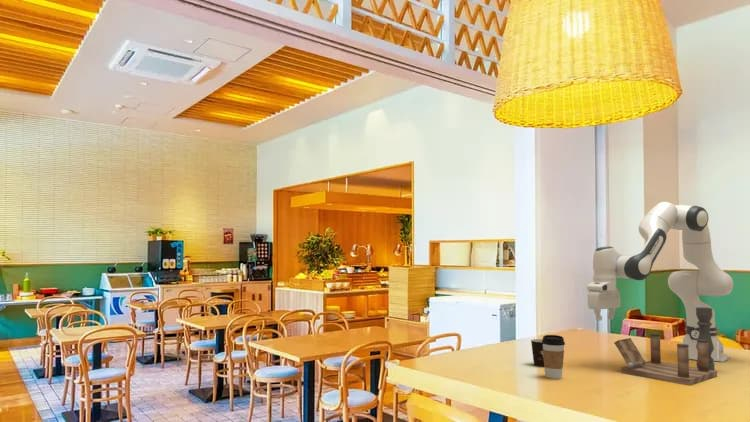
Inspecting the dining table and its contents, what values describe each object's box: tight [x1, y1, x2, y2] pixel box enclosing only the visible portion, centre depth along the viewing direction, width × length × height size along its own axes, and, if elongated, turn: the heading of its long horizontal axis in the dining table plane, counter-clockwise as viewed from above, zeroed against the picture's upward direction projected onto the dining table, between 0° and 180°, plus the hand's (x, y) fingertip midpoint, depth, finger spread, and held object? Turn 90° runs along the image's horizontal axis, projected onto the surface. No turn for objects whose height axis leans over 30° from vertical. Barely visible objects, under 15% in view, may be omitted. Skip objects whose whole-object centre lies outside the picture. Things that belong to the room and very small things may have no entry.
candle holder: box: [696, 307, 716, 371], centre depth 226 cm, size 6×6×25 cm
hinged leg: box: [613, 337, 647, 368], centre depth 223 cm, size 10×2×11 cm
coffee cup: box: [542, 334, 566, 380], centre depth 211 cm, size 8×8×15 cm
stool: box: [620, 333, 718, 386], centre depth 218 cm, size 25×25×14 cm
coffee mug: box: [530, 338, 545, 368], centre depth 231 cm, size 12×9×10 cm
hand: (604, 319), depth 231 cm, fingers open, 8 cm apart
